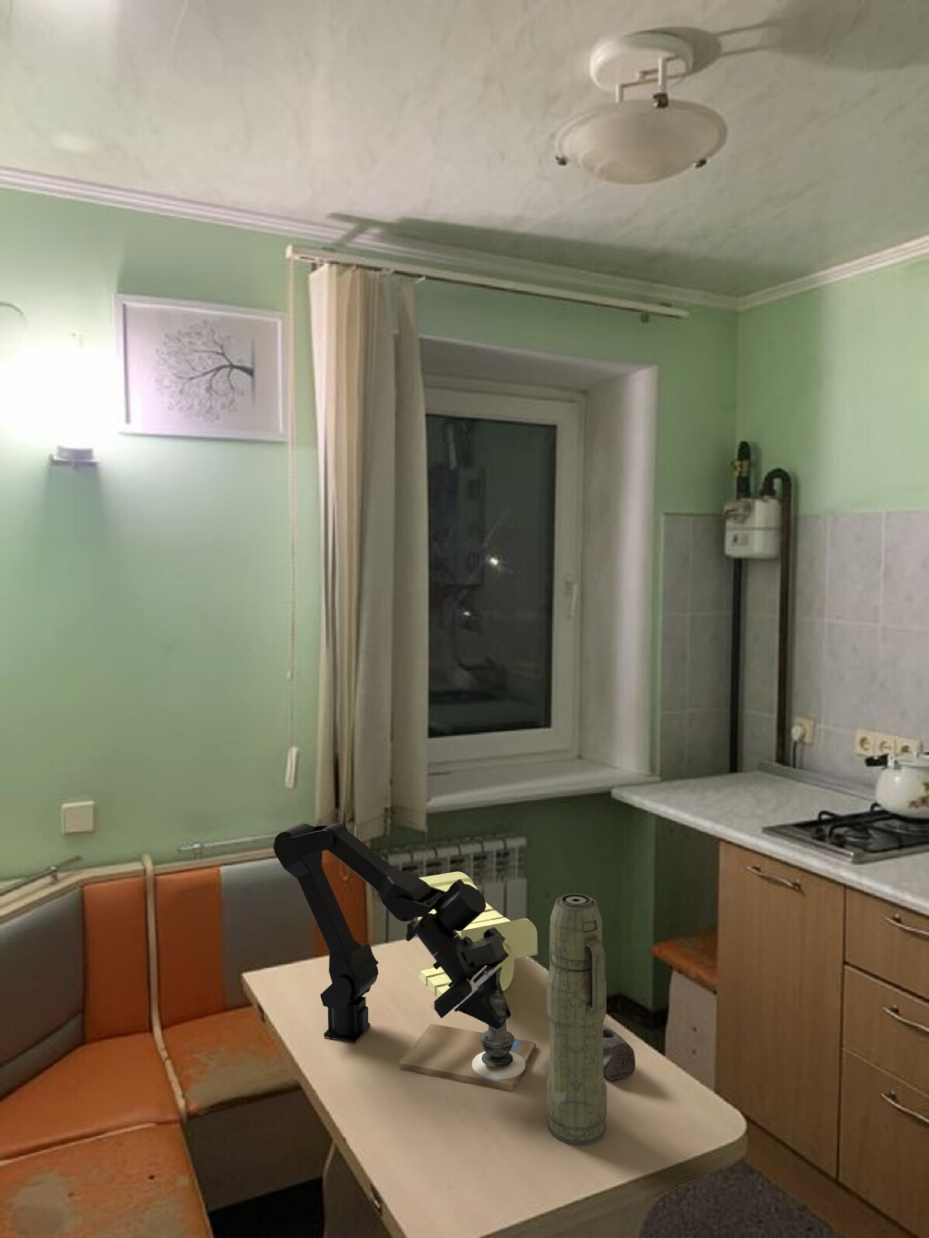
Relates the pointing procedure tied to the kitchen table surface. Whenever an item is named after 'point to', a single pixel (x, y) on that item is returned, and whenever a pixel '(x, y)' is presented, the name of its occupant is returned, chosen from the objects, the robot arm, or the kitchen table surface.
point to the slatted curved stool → (515, 932)
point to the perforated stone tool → (617, 1056)
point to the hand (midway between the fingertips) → (504, 1022)
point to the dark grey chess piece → (497, 1036)
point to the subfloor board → (464, 1057)
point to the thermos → (576, 1021)
